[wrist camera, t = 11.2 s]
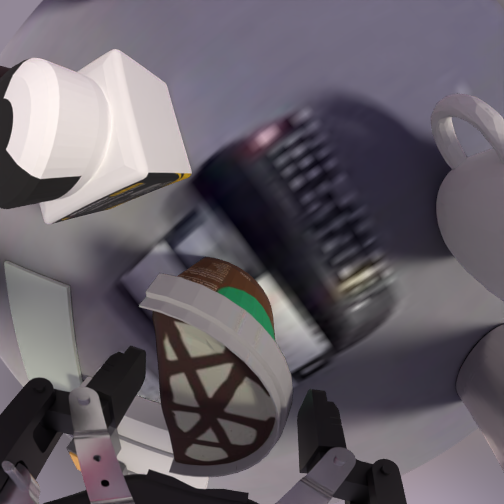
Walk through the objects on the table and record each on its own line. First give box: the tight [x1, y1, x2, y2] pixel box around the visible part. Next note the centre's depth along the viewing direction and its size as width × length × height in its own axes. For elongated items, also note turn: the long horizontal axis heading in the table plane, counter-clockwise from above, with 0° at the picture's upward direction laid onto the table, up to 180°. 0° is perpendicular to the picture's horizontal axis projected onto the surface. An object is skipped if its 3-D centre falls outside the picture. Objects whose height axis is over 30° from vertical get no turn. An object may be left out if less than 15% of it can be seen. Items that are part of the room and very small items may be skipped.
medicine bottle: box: [0, 49, 192, 224], centre depth 12 cm, size 7×7×12 cm
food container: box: [139, 257, 293, 477], centre depth 16 cm, size 12×6×10 cm, turn 176°
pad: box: [4, 261, 83, 392], centre depth 23 cm, size 10×16×1 cm, turn 169°
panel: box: [79, 376, 209, 489], centre depth 24 cm, size 14×16×4 cm
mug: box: [431, 93, 504, 301], centre depth 12 cm, size 13×9×10 cm
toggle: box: [67, 426, 121, 471], centre depth 19 cm, size 3×4×5 cm
